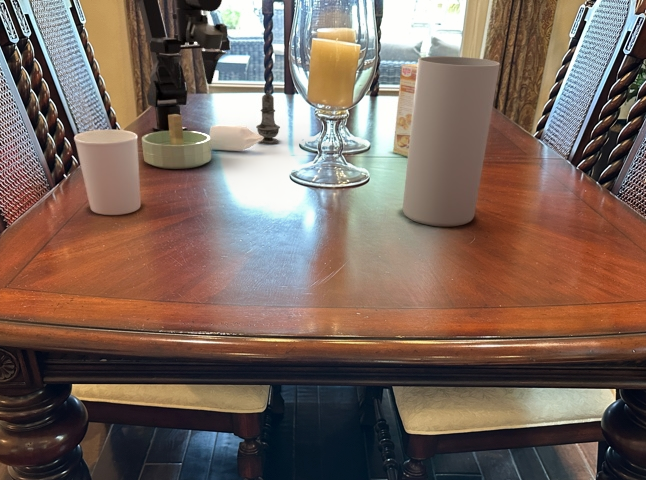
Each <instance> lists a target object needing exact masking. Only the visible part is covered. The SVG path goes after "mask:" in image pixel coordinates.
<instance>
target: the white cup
mask: <svg viewBox="0 0 646 480" xmlns="http://www.w3.org/2000/svg"><path fill="white" fill-rule="evenodd" d="M73 140H74V142H75V146H76V151H77V156H78V161H79V165H80V169H81V174H82V177H83V182H84V187H85V191H86V196H87V200H88V204H89V208H90V210H91V211H92V212H93V213H95V214H98V215H102V216H103V215H104V216H120V215H126V214H131V213H134V212H136V211H138V210H139V209H140V208H141V205H142V203H141V202H142V201H141V184H140V183H141V182H140V178H141V177H140V164H139V163H140V162H139V161H140V160H139V147H138V146H139V145H138V134H137V133H135V132H133V131H130V130H125V129H124V130H123V129H94V130H88V131H83V132H79V133H77V134H75V135H74V137H73Z"/></svg>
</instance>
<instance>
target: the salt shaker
mask: <svg viewBox="0 0 646 480" xmlns="http://www.w3.org/2000/svg"><path fill="white" fill-rule="evenodd" d="M274 99H275V97H274V95H272V94H270V91H269V90H268V89H267V90H266V93H265V94H264V95H262V97H261V109H260V112H261V122H260V124H257V125H256V126H255V128H256V129H257V134H259V135H261V136H263V137H264V138H263V139H262V140H261V141H259V142H258V143H259V144H263V145H275V144H279V143H280V140H278V139H277V138H276V137H277V136H278V134H279V133H280V129H281V126H280V125H278V124H276V121H275V112H276V110H275V106H274V105H275V103H274V102H275V100H274Z"/></svg>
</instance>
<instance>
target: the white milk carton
mask: <svg viewBox="0 0 646 480" xmlns="http://www.w3.org/2000/svg"><path fill="white" fill-rule="evenodd" d="M209 129H210V130H209V134H208V136H209V137H210V142H211V151H230V152H231V151H233V152H243V151H244V150H247V149H250V148H252V147H253V146H254V145H257V144H258V143H259V141H261V140H262V139H263V138H264V137H263V136H261V135H259V133H256V132H253V131H252V130H251V129H250V128H249V127H248V126H245V125H243V126H242V125H228V124H227V125H225V124H220V125H219V124H217V125H216V124H215V125H214V124H212V125H211V127H210V128H209Z"/></svg>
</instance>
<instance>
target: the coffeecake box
mask: <svg viewBox="0 0 646 480" xmlns="http://www.w3.org/2000/svg"><path fill="white" fill-rule="evenodd" d="M417 65H418V63H408V64H401V68H400V77H399V86H398V87H399V89H398V97H397V107H396V118H395V128H394V138H393V147H392V153H395V154H398V155H401V156H404V157H407V158H408V151H409V142H410V132H411V122H412V113H413V103H414V94H415V84H416V75H417Z"/></svg>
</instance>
